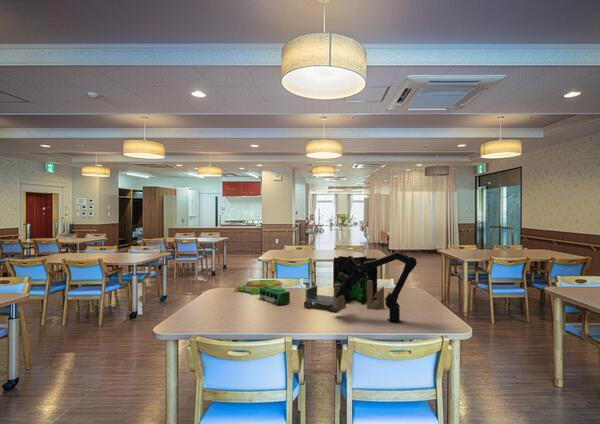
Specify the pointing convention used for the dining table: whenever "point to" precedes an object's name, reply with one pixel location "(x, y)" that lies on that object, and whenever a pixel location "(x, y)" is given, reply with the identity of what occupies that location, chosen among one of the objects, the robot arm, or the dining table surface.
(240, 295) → the dining table surface
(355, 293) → the decorative plant
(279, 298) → the toy bus
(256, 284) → the green piece
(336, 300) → the brown rectangular pillar
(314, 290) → the trolley
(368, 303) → the wooden block
